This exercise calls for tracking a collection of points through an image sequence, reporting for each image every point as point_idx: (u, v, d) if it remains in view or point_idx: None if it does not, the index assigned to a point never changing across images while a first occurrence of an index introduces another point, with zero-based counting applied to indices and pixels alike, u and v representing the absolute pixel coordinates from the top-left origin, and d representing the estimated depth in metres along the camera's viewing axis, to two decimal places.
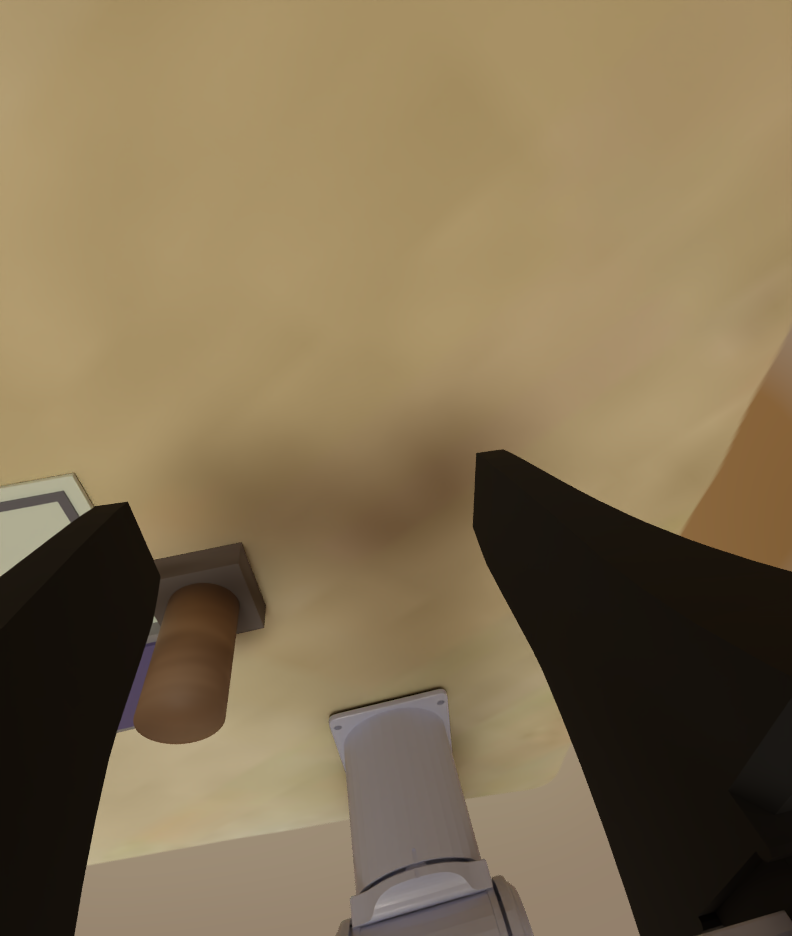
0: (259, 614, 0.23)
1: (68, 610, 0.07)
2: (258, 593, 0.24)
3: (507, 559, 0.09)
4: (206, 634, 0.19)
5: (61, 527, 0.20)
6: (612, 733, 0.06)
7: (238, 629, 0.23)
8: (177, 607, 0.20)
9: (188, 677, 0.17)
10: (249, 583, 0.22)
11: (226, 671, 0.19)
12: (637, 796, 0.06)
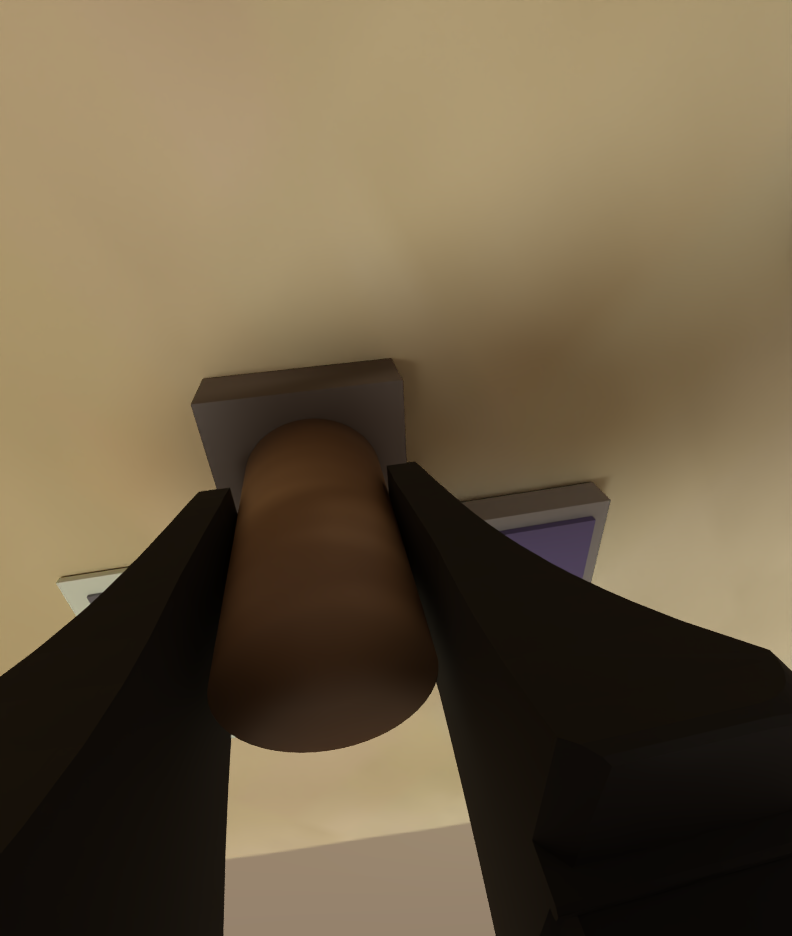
0: (362, 382, 0.10)
1: (202, 588, 0.07)
2: (339, 369, 0.11)
3: None
4: (238, 531, 0.08)
5: None
6: (474, 764, 0.06)
7: (393, 430, 0.11)
8: None
9: (216, 637, 0.07)
10: (275, 387, 0.10)
11: (294, 536, 0.07)
12: (491, 831, 0.06)
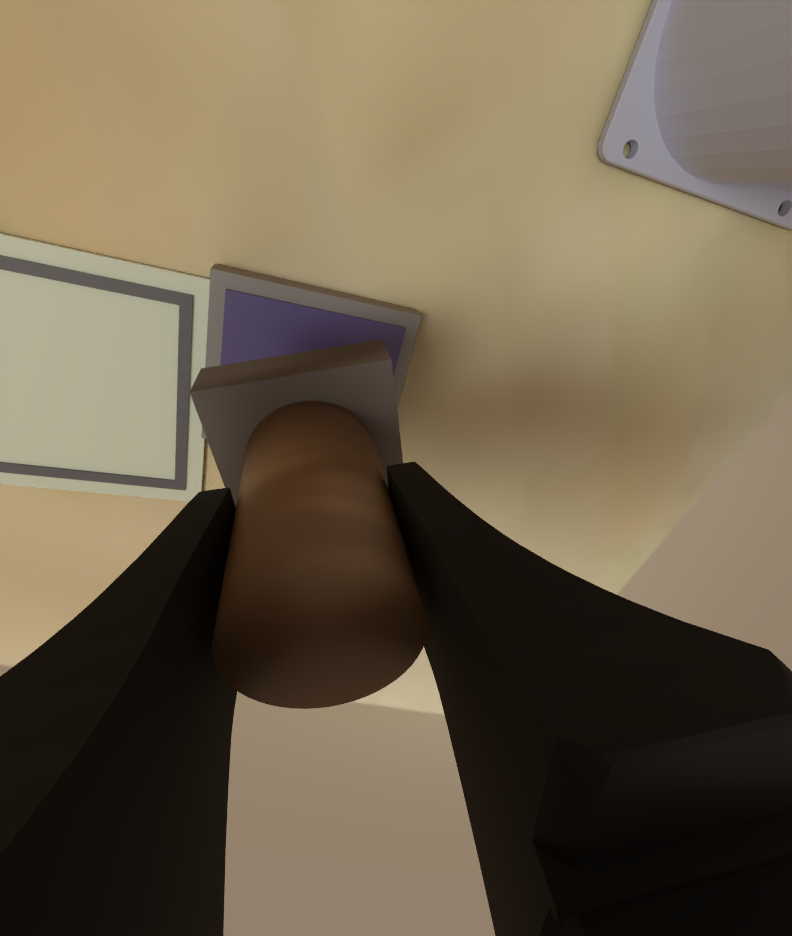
0: (352, 363, 0.11)
1: (202, 588, 0.07)
2: (331, 352, 0.11)
3: None
4: (238, 507, 0.09)
5: None
6: (474, 764, 0.06)
7: (385, 408, 0.11)
8: None
9: (219, 603, 0.07)
10: (269, 372, 0.11)
11: (287, 506, 0.07)
12: (491, 833, 0.06)
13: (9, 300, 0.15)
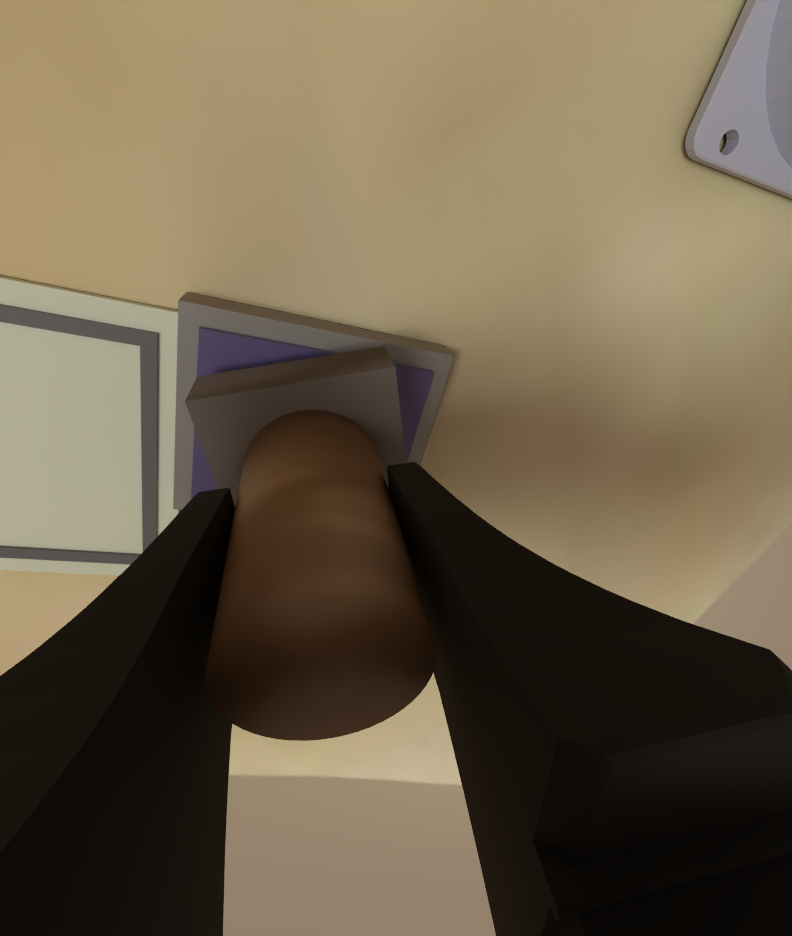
0: (354, 371, 0.10)
1: (202, 588, 0.07)
2: (332, 359, 0.11)
3: None
4: (234, 524, 0.08)
5: None
6: (475, 764, 0.06)
7: (388, 417, 0.11)
8: None
9: (213, 628, 0.07)
10: (268, 380, 0.10)
11: (286, 524, 0.07)
12: (491, 832, 0.06)
13: None
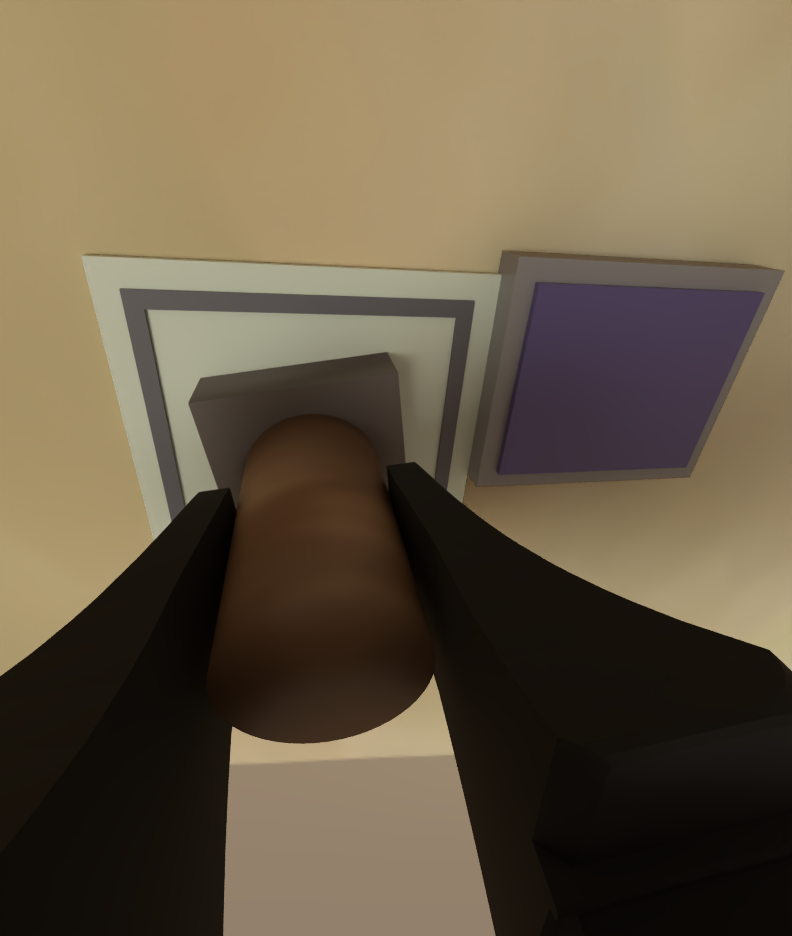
0: (357, 376, 0.10)
1: (202, 588, 0.07)
2: (335, 364, 0.11)
3: None
4: (237, 527, 0.08)
5: (213, 333, 0.11)
6: (474, 764, 0.06)
7: (390, 423, 0.11)
8: None
9: (215, 631, 0.07)
10: (271, 384, 0.10)
11: (289, 529, 0.07)
12: (491, 831, 0.06)
13: (249, 352, 0.11)
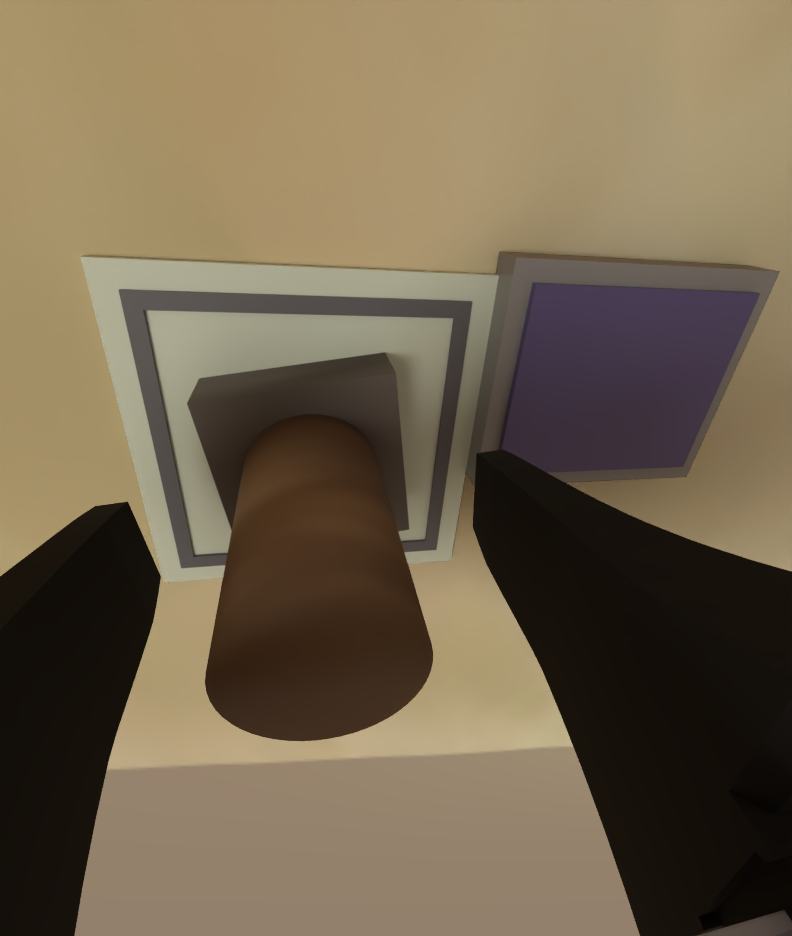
0: (355, 377, 0.10)
1: (68, 610, 0.07)
2: (333, 364, 0.11)
3: (507, 559, 0.09)
4: (235, 526, 0.08)
5: (212, 334, 0.11)
6: (612, 733, 0.06)
7: (388, 423, 0.11)
8: None
9: (214, 629, 0.07)
10: (270, 384, 0.10)
11: (287, 527, 0.07)
12: (637, 796, 0.06)
13: (248, 352, 0.11)
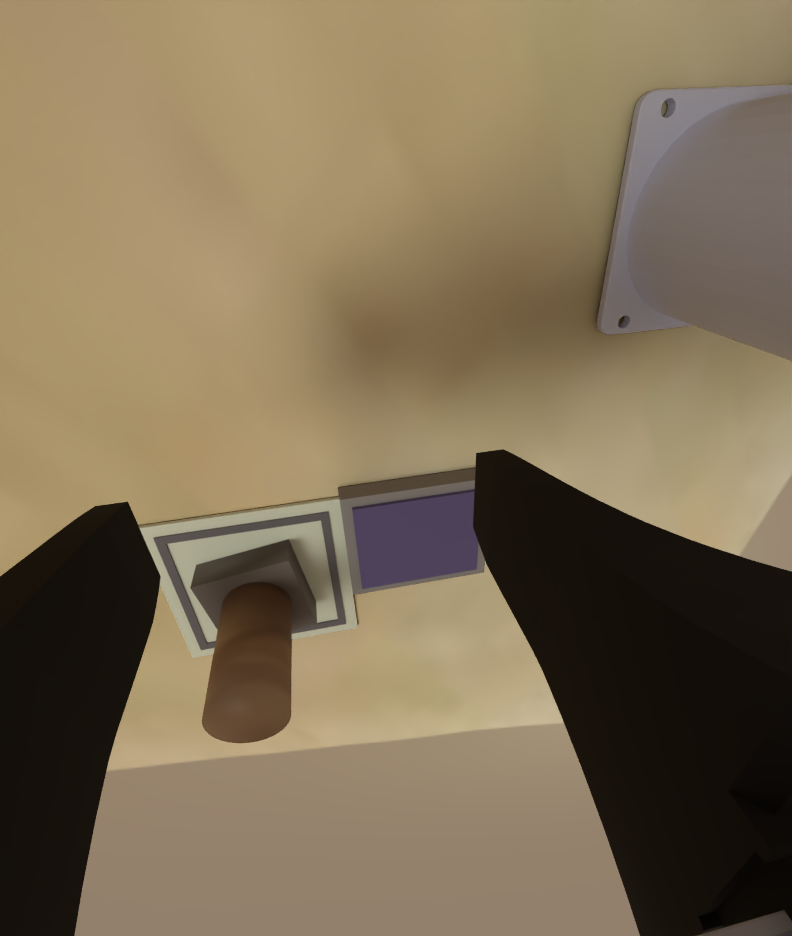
0: (269, 564, 0.21)
1: (68, 610, 0.07)
2: (261, 551, 0.22)
3: (507, 559, 0.09)
4: (214, 653, 0.19)
5: (199, 546, 0.22)
6: (612, 733, 0.06)
7: (290, 580, 0.22)
8: None
9: (205, 703, 0.18)
10: (229, 571, 0.21)
11: (230, 660, 0.18)
12: (637, 796, 0.06)
13: (218, 550, 0.22)
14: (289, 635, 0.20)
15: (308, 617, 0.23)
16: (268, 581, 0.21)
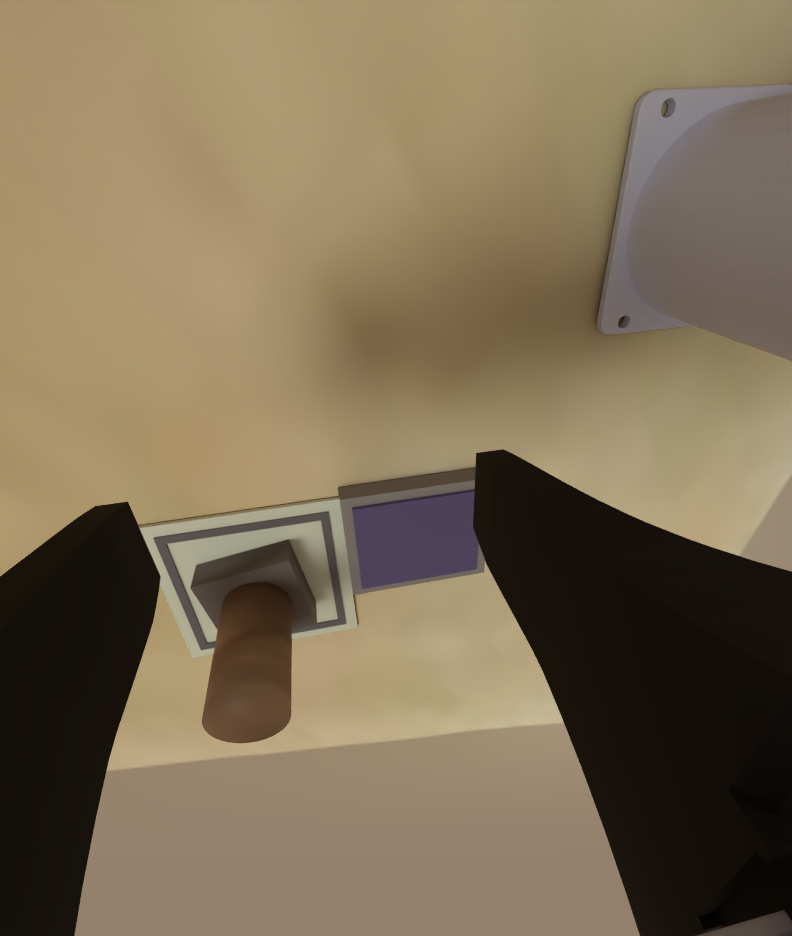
0: (269, 564, 0.21)
1: (68, 610, 0.07)
2: (261, 551, 0.22)
3: (507, 559, 0.09)
4: (214, 653, 0.19)
5: (199, 546, 0.22)
6: (612, 733, 0.06)
7: (290, 580, 0.22)
8: None
9: (205, 703, 0.18)
10: (229, 571, 0.21)
11: (230, 660, 0.18)
12: (637, 796, 0.06)
13: (218, 550, 0.22)
14: (289, 635, 0.20)
15: (308, 617, 0.23)
16: (268, 581, 0.21)
